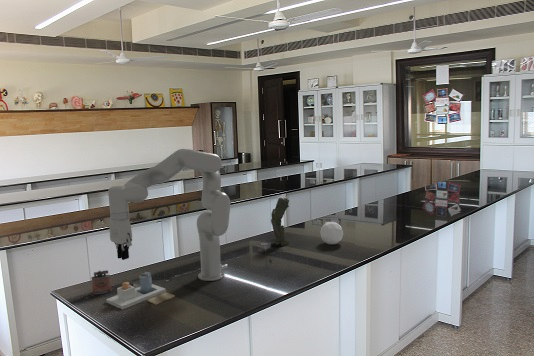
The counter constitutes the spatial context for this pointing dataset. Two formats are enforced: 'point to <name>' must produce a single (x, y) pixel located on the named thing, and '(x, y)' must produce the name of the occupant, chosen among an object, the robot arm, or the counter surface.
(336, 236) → the geodesic sphere
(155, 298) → the pad
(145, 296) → the dock
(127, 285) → the brown egg
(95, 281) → the lighter
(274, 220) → the mechanical leg
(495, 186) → the counter surface
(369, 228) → the counter surface
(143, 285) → the cylinder
